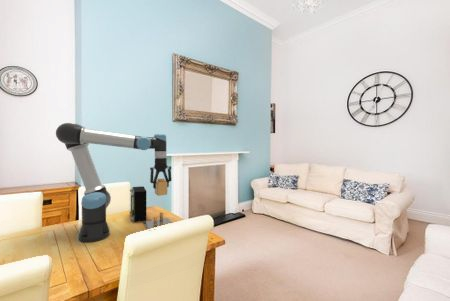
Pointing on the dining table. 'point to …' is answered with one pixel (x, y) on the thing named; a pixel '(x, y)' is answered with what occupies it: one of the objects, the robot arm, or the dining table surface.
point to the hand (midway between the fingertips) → (161, 192)
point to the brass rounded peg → (161, 216)
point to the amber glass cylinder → (155, 221)
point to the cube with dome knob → (161, 187)
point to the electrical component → (138, 204)
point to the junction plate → (151, 223)
